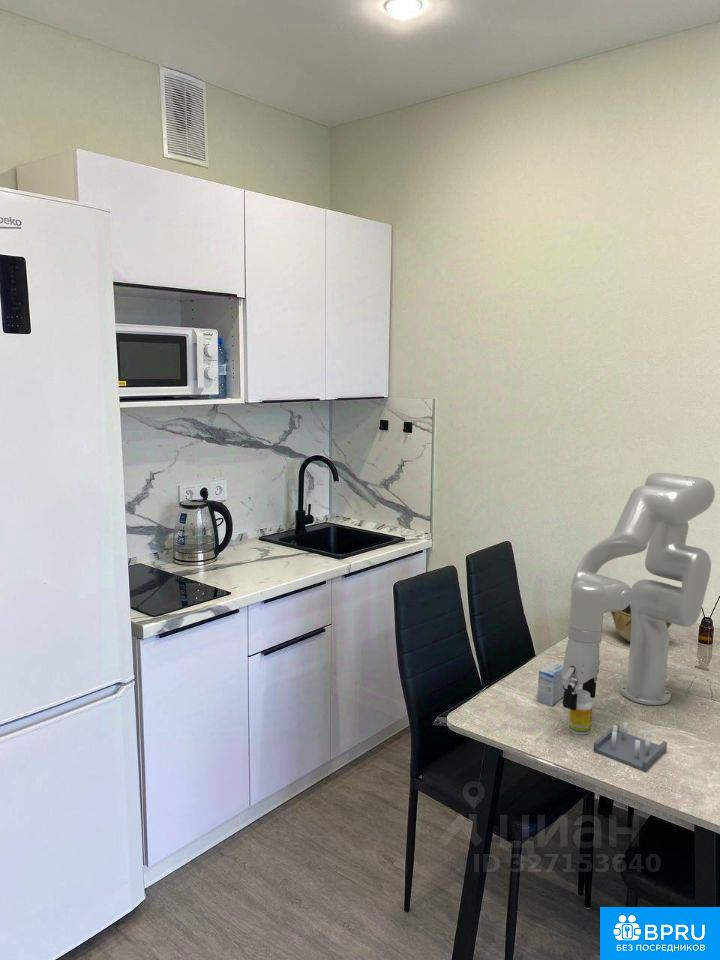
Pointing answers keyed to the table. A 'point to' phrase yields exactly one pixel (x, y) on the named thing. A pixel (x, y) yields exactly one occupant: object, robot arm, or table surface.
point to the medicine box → (550, 684)
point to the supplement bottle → (581, 714)
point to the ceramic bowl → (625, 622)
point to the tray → (629, 748)
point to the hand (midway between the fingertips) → (579, 702)
